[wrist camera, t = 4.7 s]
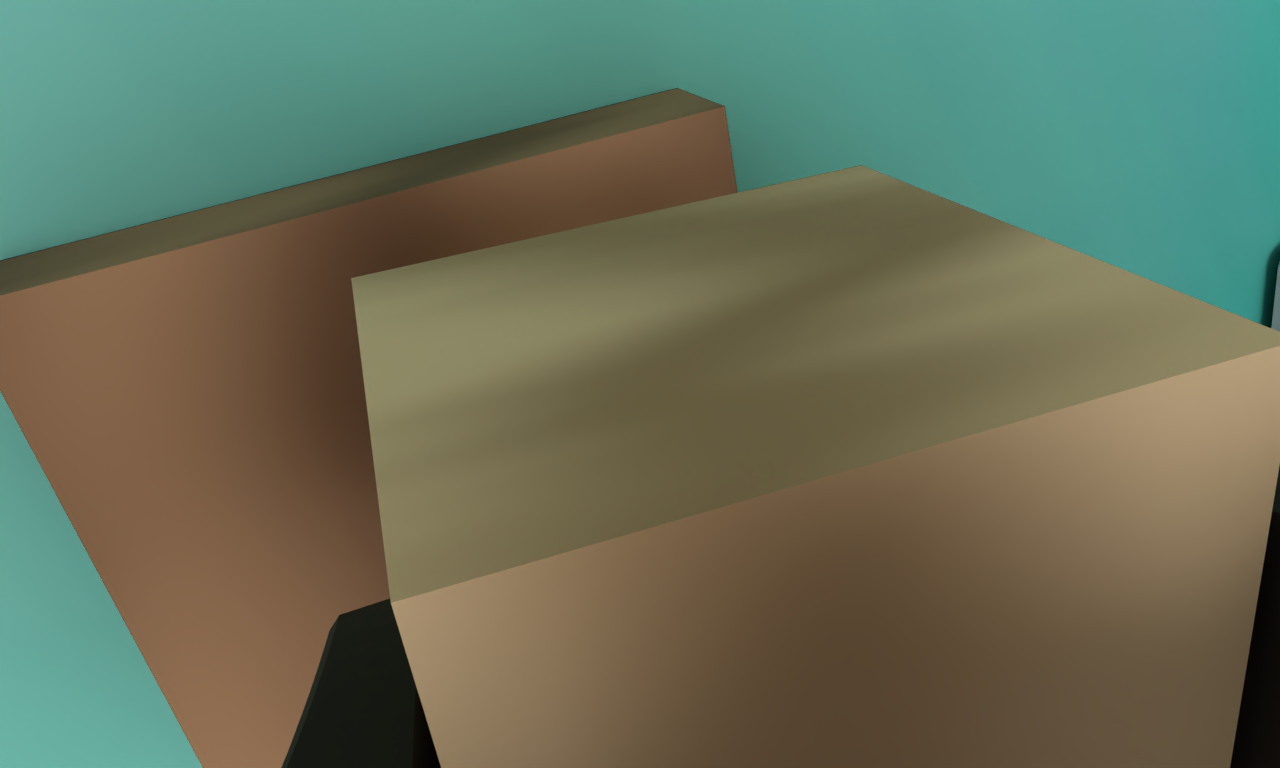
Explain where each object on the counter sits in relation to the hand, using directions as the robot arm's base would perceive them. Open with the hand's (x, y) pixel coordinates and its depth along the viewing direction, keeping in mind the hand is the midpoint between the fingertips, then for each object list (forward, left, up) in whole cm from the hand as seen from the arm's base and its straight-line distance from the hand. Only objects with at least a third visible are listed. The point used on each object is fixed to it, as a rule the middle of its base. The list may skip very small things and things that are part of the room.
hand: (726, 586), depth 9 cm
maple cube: (0, 0, -2) cm, 2 cm away
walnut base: (+2, +2, -8) cm, 9 cm away
